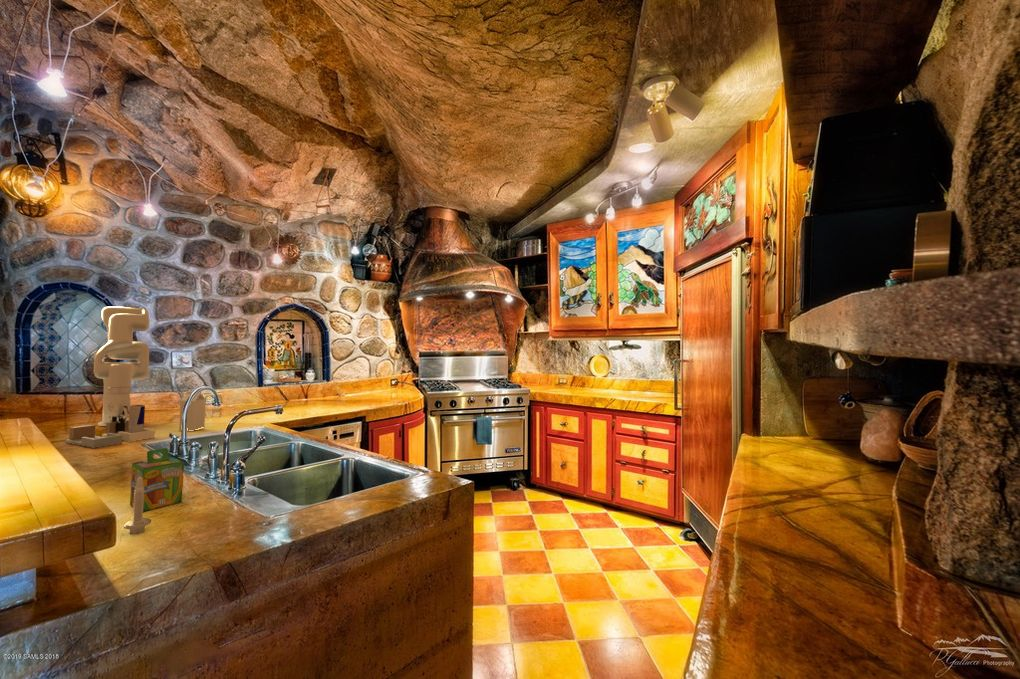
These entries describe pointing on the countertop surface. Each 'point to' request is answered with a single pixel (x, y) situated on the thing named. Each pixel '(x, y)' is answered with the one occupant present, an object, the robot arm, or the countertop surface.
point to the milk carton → (194, 412)
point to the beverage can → (136, 418)
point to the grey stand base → (91, 437)
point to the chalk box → (158, 480)
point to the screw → (138, 510)
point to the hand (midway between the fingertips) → (117, 430)
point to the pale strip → (129, 436)
